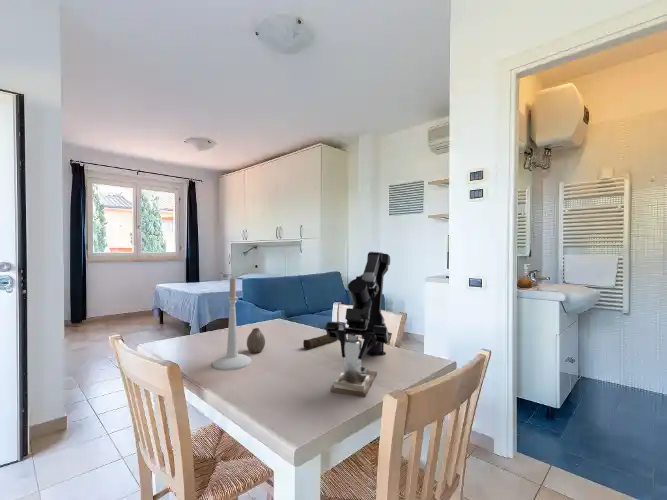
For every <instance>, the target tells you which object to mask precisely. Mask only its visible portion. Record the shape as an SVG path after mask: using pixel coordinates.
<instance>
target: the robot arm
mask: <svg viewBox="0 0 667 500" xmlns="http://www.w3.org/2000/svg"><path fill="white" fill-rule="evenodd" d="M366 259H367V260H366V263H365V268H364V270H363V273H362V274H361V275H359V276H358V275H357V276H356V277H355V279H352V280H350V282H349V283H348V284H347V289H348V291H349V292H348V293H349V296H350V299H351V302H353V304H352V308H346V310H345V316H344V317H345V320H346V325H347V326H348V327H347V326H344V325H341V323H340V322H339V321H330V320H329V321H328V322H326V323H325V327H324V328H325V331H326V334H328V336H329V337H330V338H337V339H338V340H337V341H339V342H340V350H341V357H342V358H343V359H344V341H345V340H348V337H347V336H348V334H350V333H355V334H358V336H362V337H363V341H362V346H361V352H360V360H361V361H362V360H363V358H364V357H365V356H366V354H367V355H368V356H371V357H372V356H381V355H386V351H384V348H385V347H384V346H385V344H389V331H388V330H389V329H388V327H387V326H386V322H385V318H384V316H383V314H382V303H383V302H382V300H383V288H384V277H385V274H386V273H387V272H388V271H389V266H390V265H391V256H390V255H389V254H388V253H386V252H385V253H383V252H382V251H374V250H373V251H368V253H367V258H366Z"/></svg>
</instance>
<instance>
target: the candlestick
mask: <svg viewBox="0 0 667 500" xmlns="http://www.w3.org/2000/svg"><path fill="white" fill-rule="evenodd" d="M236 281H237V278H236V277H230V278H229V296H228V297H227V299H228V303H229V305H230V306H229V311H228V313H229V314H228V328H227V329H228V332H227V344H226V345H227V347H226V354H222V355H221V356H219V357H217V358H216V359H214V360H212V361H213V362H212V367H213V368H215V369H217V370H220V371H221V370H222V371H234V370H240V369H243V368H246V367H248V366H250V365H251V364H252V359H251V358H250V357H249V356H247V355H246V354H243V353H239V352H238V337H237V335H238V333H237V315H236V303H237V302H238V301H237V299H238V298H239V297H238V296H236V295H237V294H236V293H237V290H236V289H237V285H236V284H237V283H236Z"/></svg>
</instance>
